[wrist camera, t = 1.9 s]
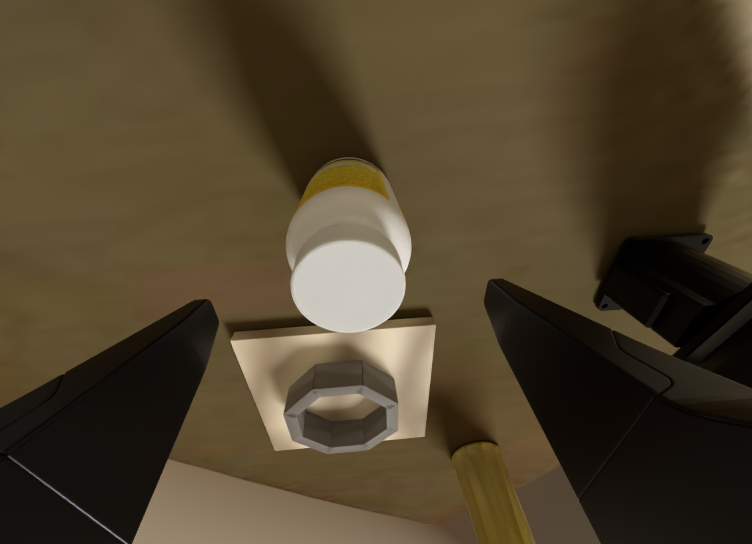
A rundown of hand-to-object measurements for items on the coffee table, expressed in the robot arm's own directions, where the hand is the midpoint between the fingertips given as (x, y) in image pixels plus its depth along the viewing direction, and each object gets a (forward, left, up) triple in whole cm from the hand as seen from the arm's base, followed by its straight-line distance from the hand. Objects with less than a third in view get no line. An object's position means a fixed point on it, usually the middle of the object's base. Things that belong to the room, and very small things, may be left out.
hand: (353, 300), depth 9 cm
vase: (-13, +33, -11) cm, 37 cm away
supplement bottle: (0, 0, -11) cm, 11 cm away
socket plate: (+2, +18, -10) cm, 21 cm away
